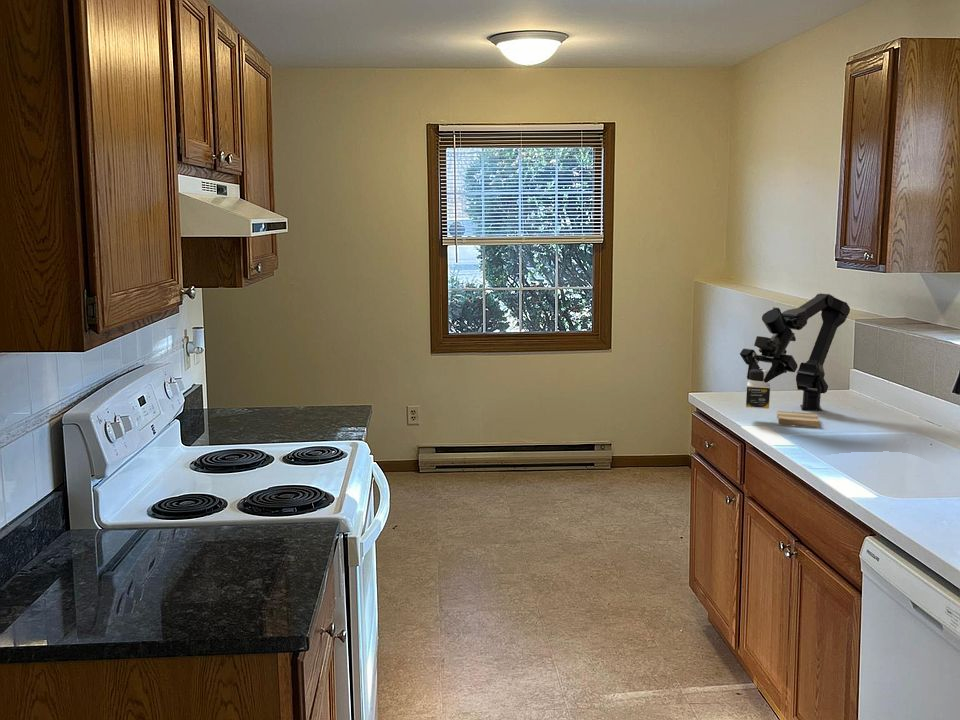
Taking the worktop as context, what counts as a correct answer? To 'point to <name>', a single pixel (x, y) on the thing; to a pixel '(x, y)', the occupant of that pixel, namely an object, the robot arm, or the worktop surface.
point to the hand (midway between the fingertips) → (756, 380)
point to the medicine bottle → (758, 390)
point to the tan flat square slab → (797, 419)
